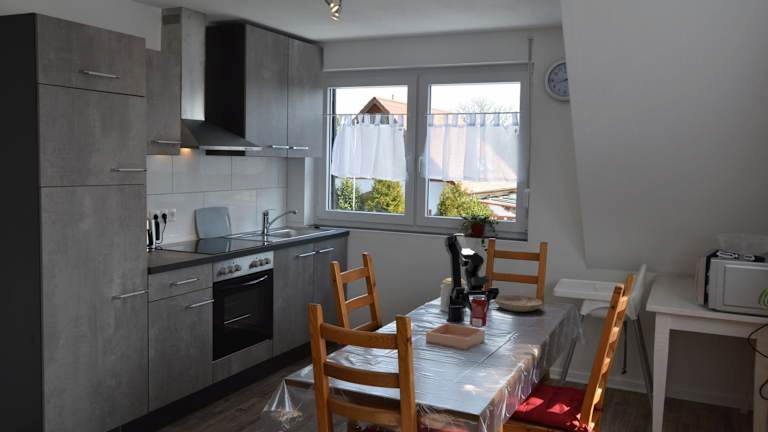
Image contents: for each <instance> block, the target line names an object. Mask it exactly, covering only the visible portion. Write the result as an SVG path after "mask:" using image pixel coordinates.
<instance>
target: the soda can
mask: <svg viewBox="0 0 768 432" xmlns="http://www.w3.org/2000/svg"><path fill="white" fill-rule="evenodd" d="M470 302H471V306H472V312H471V311H470V310H469V325H470V327H472V328H478V329H483V328H484V327H486V326H487V317H488V315H487V314H488V311H487V305H488V302H487V300H486V298H485V296H482V295H480V296H472V299H471V300H470Z"/></svg>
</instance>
